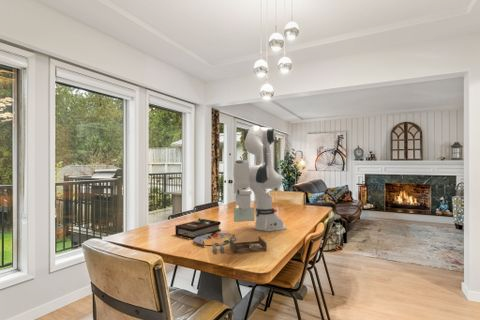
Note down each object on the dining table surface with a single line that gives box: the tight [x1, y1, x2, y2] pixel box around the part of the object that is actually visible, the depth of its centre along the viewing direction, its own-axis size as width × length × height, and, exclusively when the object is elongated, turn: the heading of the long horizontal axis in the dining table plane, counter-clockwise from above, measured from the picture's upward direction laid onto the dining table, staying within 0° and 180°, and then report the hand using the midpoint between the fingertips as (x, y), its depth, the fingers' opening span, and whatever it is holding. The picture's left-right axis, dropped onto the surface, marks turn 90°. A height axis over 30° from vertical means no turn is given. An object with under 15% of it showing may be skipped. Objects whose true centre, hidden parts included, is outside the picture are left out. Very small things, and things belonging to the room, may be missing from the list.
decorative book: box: [174, 217, 222, 240], centre depth 183 cm, size 19×8×30 cm
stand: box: [212, 243, 226, 255], centre depth 142 cm, size 7×8×4 cm
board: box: [233, 206, 256, 223], centre depth 148 cm, size 11×2×7 cm, turn 102°
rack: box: [229, 236, 267, 255], centre depth 145 cm, size 17×12×5 cm
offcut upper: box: [250, 244, 261, 248], centre depth 144 cm, size 4×3×1 cm
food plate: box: [193, 232, 237, 246], centre depth 163 cm, size 25×23×4 cm
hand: (242, 215), depth 148 cm, fingers closed on board, 2 cm apart
